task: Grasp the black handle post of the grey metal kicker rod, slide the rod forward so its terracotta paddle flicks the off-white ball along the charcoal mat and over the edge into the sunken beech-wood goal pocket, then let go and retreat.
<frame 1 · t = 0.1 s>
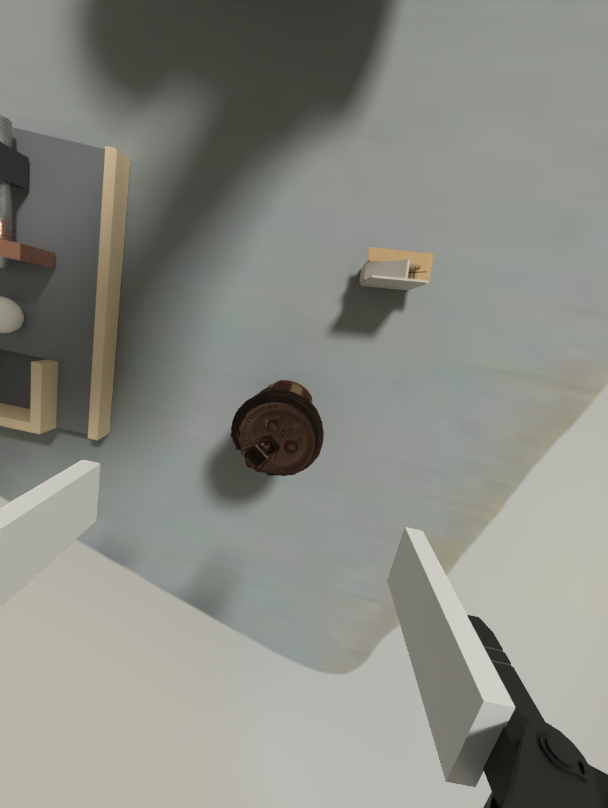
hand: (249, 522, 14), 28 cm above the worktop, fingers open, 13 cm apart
architectural model: (383, 279, 38), on the worktop
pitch: (27, 290, 39), on the worktop
ball: (0, 314, 36), point 3 cm above the worktop, touching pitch
coffee cup: (286, 404, 42), on the worktop
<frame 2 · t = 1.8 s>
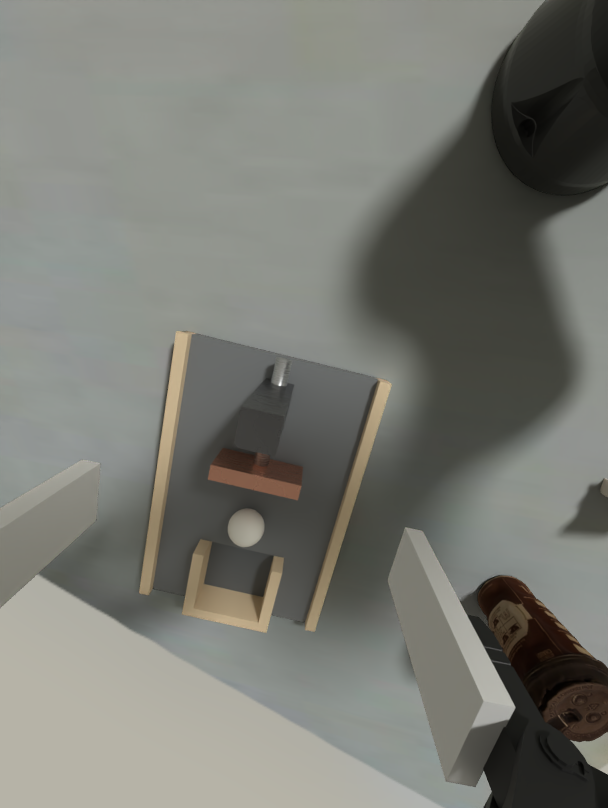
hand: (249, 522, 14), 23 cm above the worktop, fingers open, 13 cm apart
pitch: (257, 487, 39), on the worktop
kicker: (262, 441, 29), point 8 cm above the worktop, slide at 0.0 cm
ball: (246, 527, 36), point 3 cm above the worktop, touching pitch
coffee cup: (499, 594, 42), on the worktop
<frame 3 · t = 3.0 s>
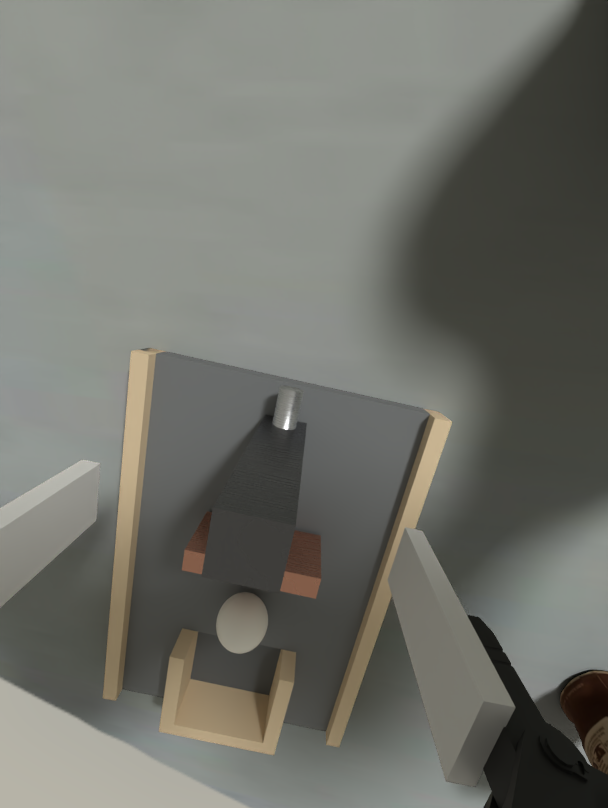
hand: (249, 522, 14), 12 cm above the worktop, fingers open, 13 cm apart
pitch: (257, 558, 28), on the worktop
kicker: (260, 523, 18), point 8 cm above the worktop, slide at 0.0 cm
ball: (242, 621, 26), point 3 cm above the worktop, touching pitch
coffee cup: (589, 692, 31), on the worktop
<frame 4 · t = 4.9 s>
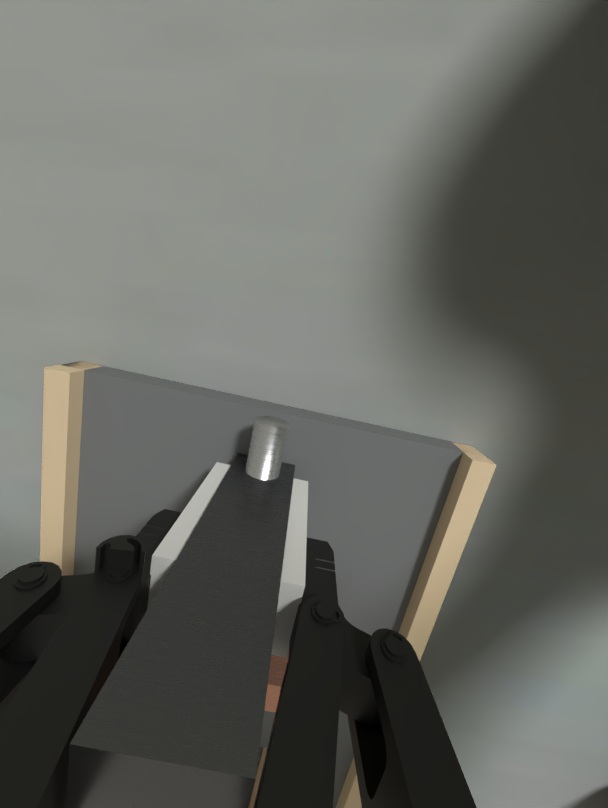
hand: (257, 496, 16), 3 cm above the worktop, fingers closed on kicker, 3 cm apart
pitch: (233, 631, 22), on the worktop
kicker: (222, 634, 12), point 8 cm above the worktop, slide at 0.0 cm, touching gripper
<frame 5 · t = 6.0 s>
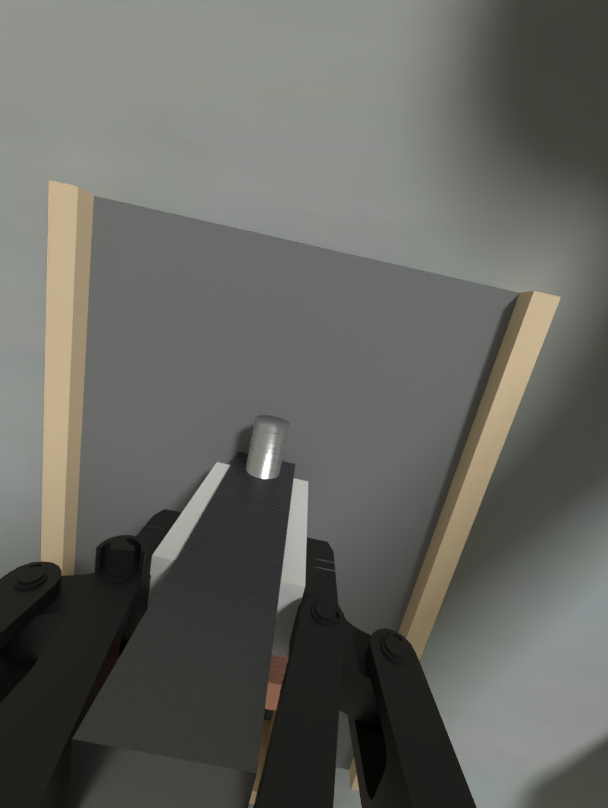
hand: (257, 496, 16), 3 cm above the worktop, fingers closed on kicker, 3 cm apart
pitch: (254, 529, 20), on the worktop
kicker: (222, 632, 12), point 8 cm above the worktop, slide at 7.9 cm, touching gripper
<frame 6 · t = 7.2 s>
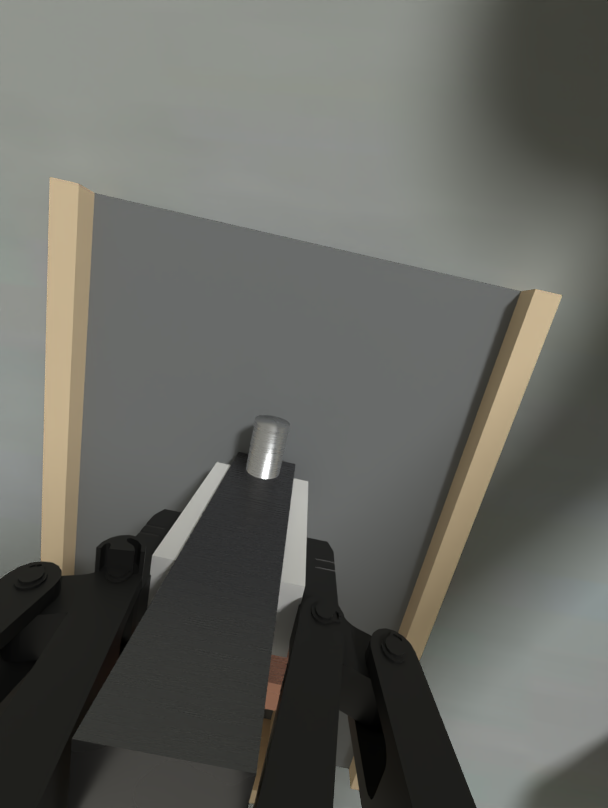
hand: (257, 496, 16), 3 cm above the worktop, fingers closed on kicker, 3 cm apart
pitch: (254, 528, 20), on the worktop
kicker: (222, 632, 12), point 8 cm above the worktop, slide at 8.0 cm, touching gripper
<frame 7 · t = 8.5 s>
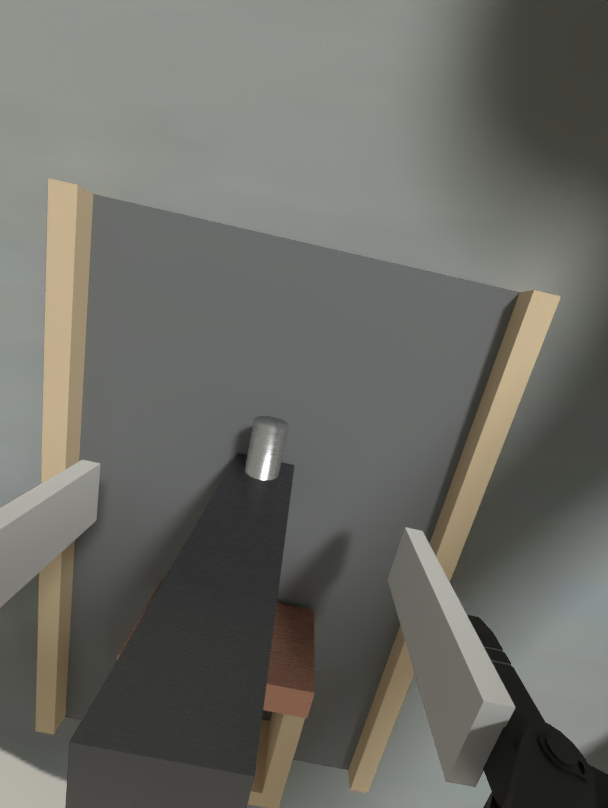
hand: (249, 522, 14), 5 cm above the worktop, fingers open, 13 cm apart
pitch: (253, 529, 20), on the worktop
kicker: (221, 633, 12), point 8 cm above the worktop, slide at 8.0 cm
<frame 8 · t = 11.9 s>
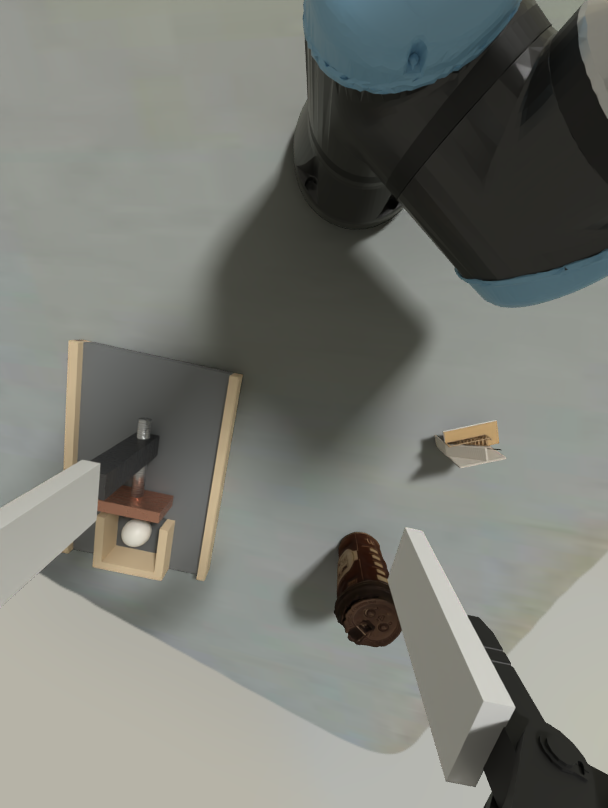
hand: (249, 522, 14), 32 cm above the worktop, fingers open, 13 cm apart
architectural model: (454, 435, 46), on the worktop
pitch: (151, 464, 48), on the worktop
kicker: (121, 483, 40), point 8 cm above the worktop, slide at 8.0 cm
ball: (136, 532, 48), point 2 cm above the worktop, tilted 159°, touching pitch
coffee cup: (357, 548, 51), on the worktop
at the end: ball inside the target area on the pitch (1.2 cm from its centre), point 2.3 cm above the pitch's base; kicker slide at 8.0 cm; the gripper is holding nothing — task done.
